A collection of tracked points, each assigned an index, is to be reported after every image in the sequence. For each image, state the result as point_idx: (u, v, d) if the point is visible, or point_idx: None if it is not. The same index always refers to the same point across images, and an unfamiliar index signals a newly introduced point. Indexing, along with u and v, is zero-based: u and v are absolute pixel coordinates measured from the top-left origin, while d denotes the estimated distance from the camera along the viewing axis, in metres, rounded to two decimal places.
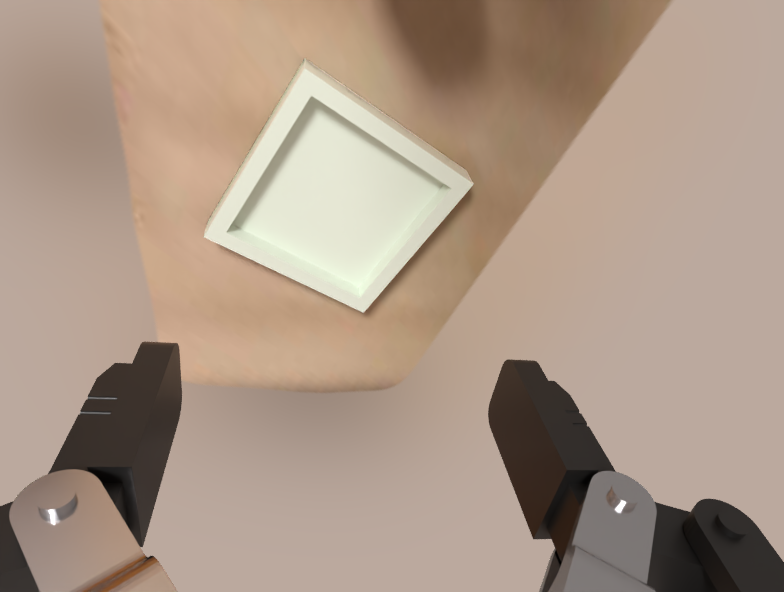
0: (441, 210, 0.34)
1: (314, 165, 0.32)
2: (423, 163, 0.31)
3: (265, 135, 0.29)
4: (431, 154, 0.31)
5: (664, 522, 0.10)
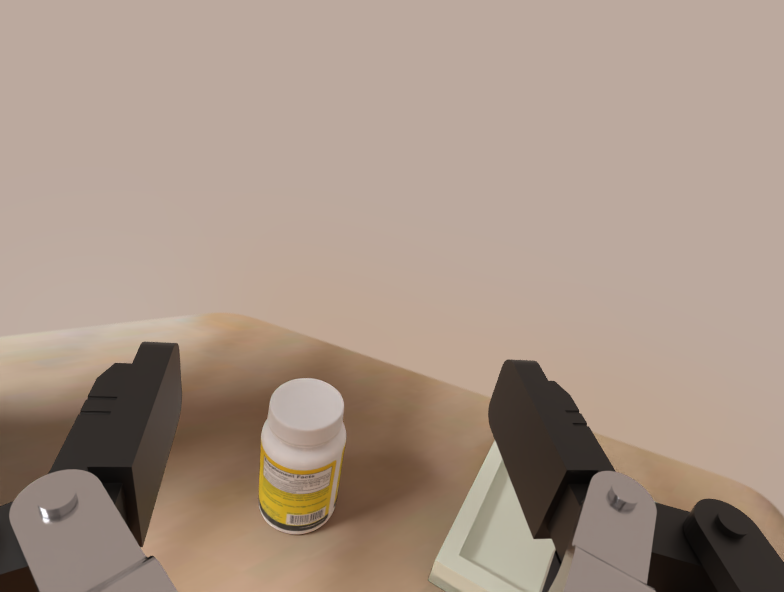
0: None
1: (528, 567, 0.31)
2: (494, 463, 0.35)
3: None
4: (485, 459, 0.36)
5: (664, 522, 0.10)
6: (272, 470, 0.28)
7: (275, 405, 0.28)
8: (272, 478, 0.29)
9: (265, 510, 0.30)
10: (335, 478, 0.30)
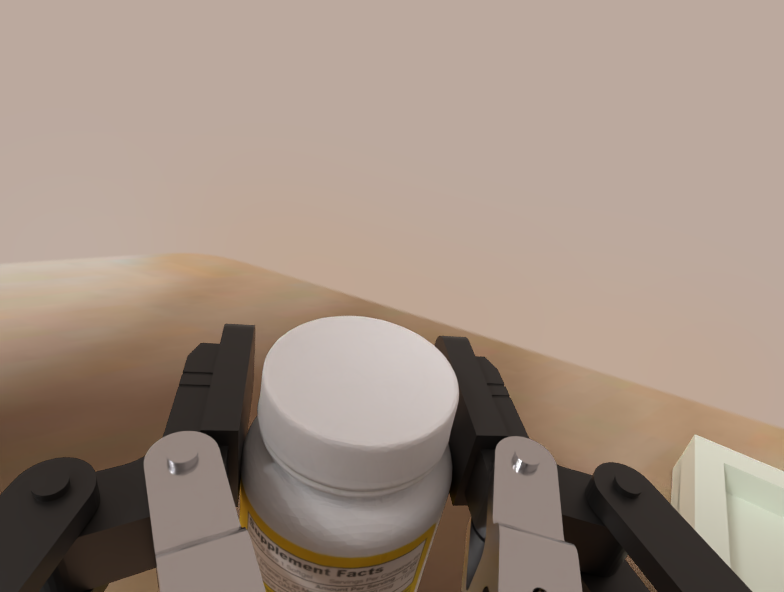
0: (767, 473, 0.19)
1: None
2: (716, 507, 0.18)
3: None
4: (692, 498, 0.18)
5: (568, 485, 0.10)
6: (269, 553, 0.11)
7: (278, 377, 0.10)
8: (269, 571, 0.11)
9: None
10: (425, 562, 0.12)
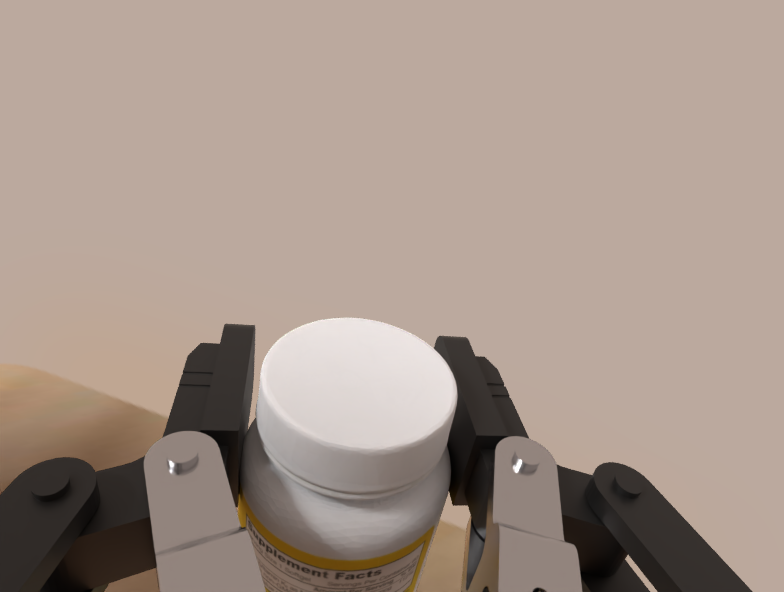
0: None
1: None
2: None
3: None
4: None
5: (568, 485, 0.10)
6: (267, 556, 0.11)
7: (276, 379, 0.10)
8: (267, 574, 0.11)
9: None
10: (423, 564, 0.12)
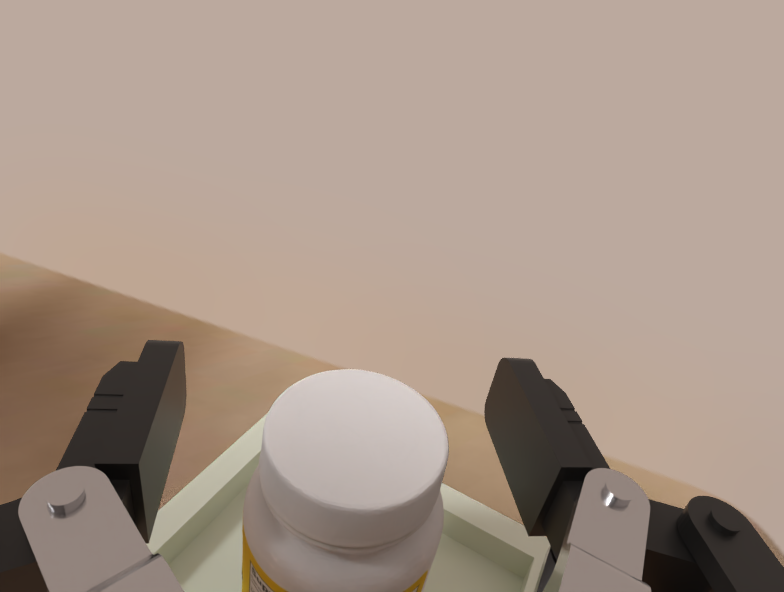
0: None
1: None
2: (236, 462, 0.19)
3: None
4: None
5: (658, 519, 0.10)
6: None
7: (277, 438, 0.11)
8: None
9: None
10: None
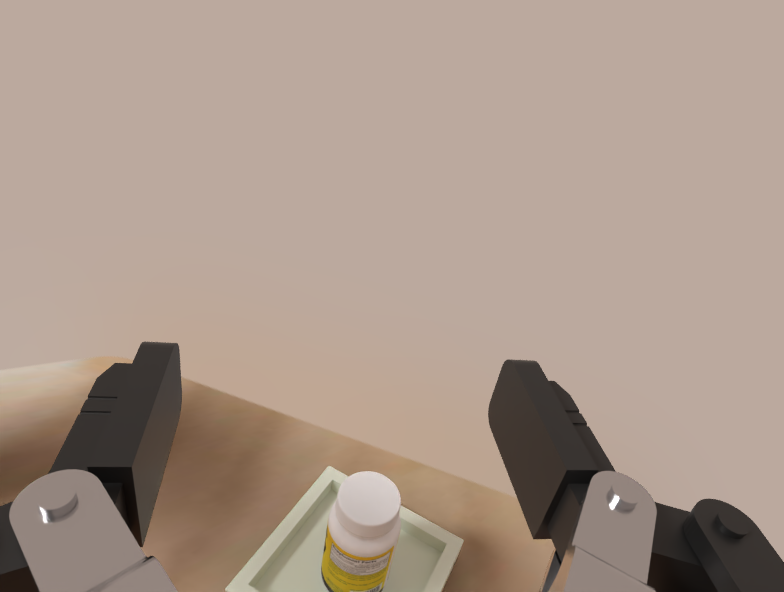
0: None
1: None
2: (310, 499, 0.40)
3: None
4: None
5: (664, 522, 0.10)
6: (339, 556, 0.33)
7: (343, 501, 0.32)
8: (338, 562, 0.33)
9: (329, 585, 0.35)
10: (391, 558, 0.34)
